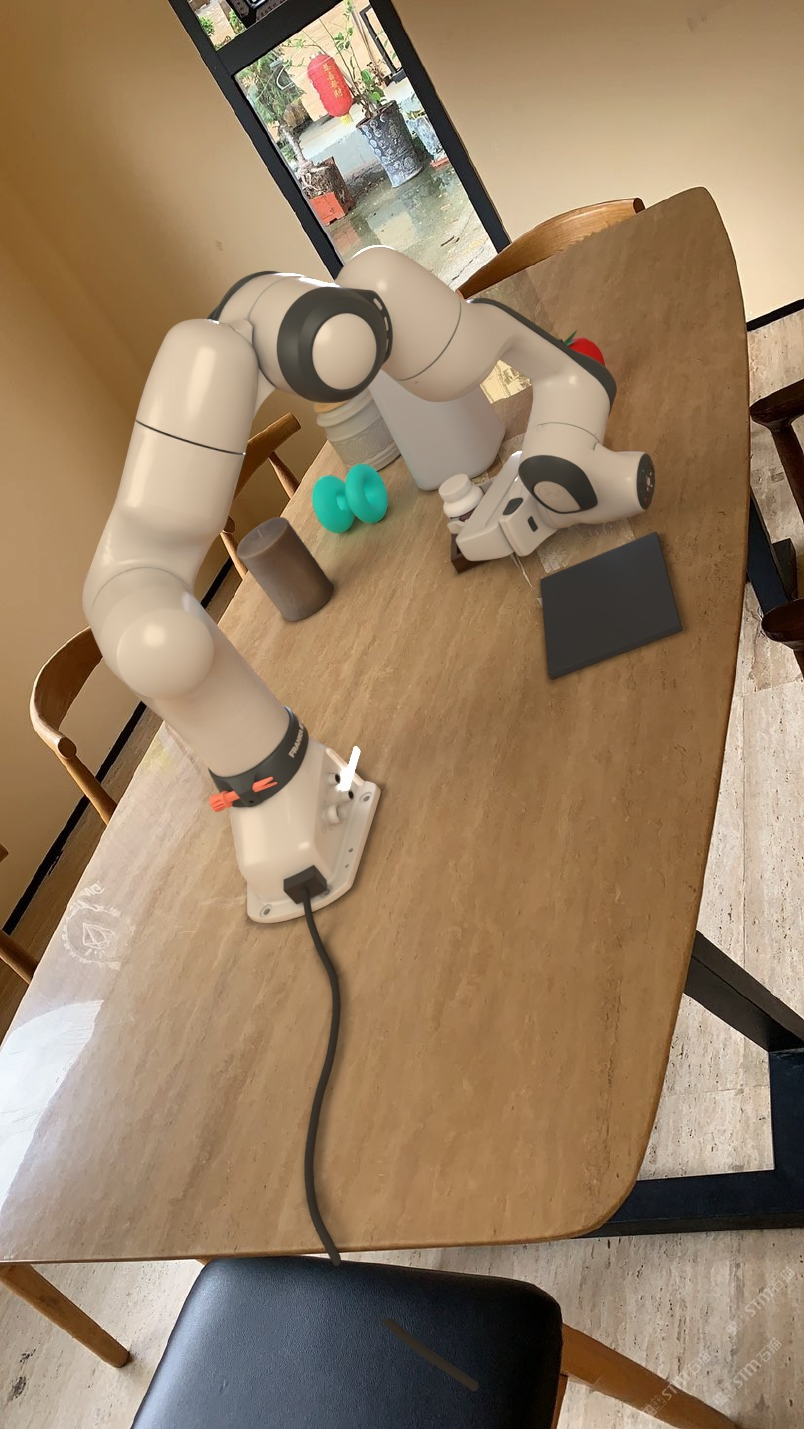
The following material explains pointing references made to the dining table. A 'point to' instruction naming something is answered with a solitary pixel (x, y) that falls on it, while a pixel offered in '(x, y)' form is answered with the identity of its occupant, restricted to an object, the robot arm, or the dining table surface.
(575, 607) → the mat
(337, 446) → the jar
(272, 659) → the dining table surface
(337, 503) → the teal spool
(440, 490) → the pill bottle
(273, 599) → the pillar candle
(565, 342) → the tomato
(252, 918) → the robot arm
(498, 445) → the plastic bottle
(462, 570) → the frame
